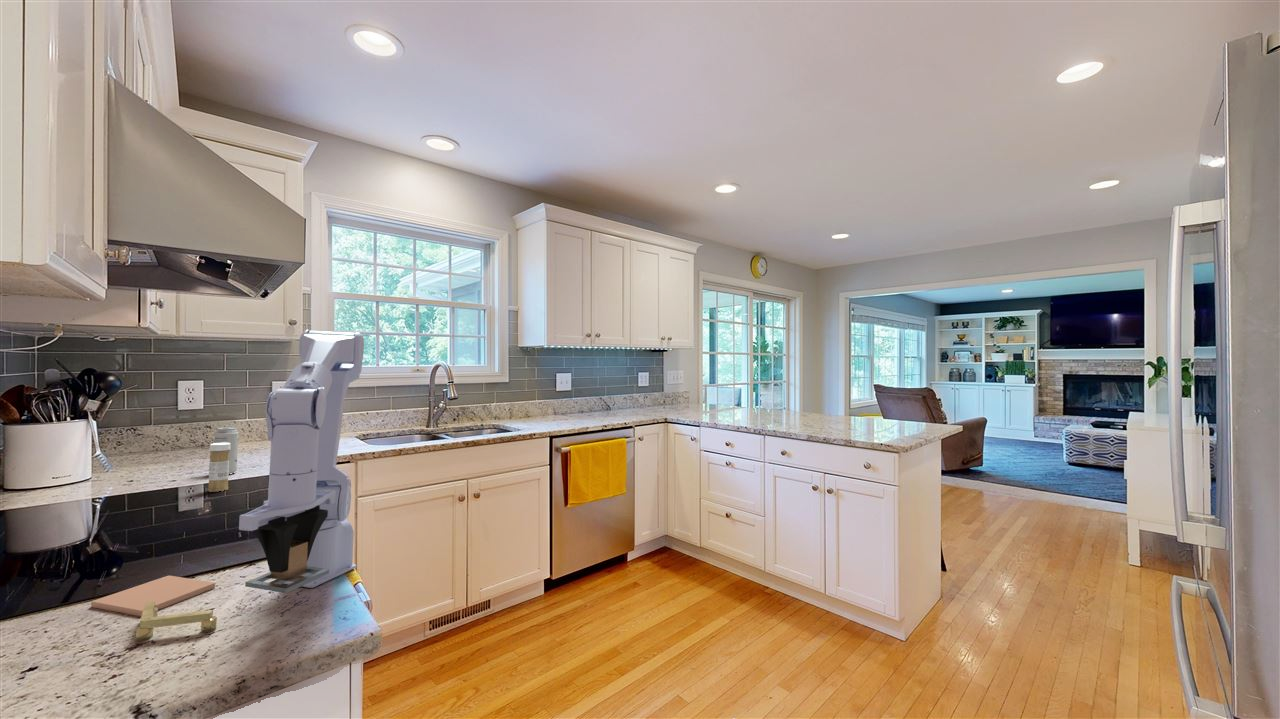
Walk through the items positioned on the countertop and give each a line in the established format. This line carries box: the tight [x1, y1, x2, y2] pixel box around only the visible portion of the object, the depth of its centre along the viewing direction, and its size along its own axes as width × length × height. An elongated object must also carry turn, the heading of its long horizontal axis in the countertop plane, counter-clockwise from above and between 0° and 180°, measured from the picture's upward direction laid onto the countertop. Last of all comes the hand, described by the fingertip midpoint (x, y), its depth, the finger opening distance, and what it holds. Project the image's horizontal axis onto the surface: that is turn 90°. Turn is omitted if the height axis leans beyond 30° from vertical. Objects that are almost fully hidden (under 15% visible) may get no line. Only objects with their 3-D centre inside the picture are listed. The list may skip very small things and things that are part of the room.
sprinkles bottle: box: [207, 442, 231, 493], centre depth 143 cm, size 5×5×14 cm
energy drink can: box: [213, 426, 240, 474], centre depth 164 cm, size 6×6×15 cm
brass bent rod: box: [135, 601, 218, 642], centre depth 68 cm, size 6×12×2 cm, turn 77°
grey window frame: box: [244, 540, 329, 594], centre depth 72 cm, size 7×7×5 cm
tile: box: [90, 575, 216, 617], centre depth 78 cm, size 10×10×1 cm
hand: (289, 566), depth 72 cm, fingers closed on grey window frame, 3 cm apart
